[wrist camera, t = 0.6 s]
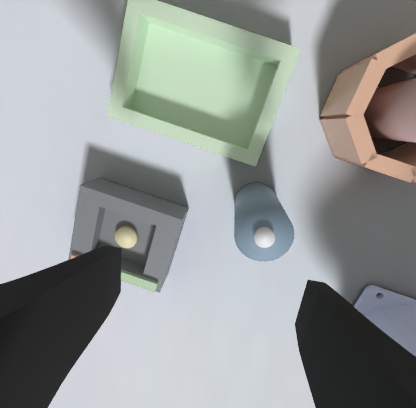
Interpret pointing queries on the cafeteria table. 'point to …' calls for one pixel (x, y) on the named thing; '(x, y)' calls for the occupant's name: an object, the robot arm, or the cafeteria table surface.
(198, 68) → the trough
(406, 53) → the cup
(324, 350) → the robot arm
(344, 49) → the cafeteria table surface
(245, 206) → the cell
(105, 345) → the cafeteria table surface
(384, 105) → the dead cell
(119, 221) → the grey button box
